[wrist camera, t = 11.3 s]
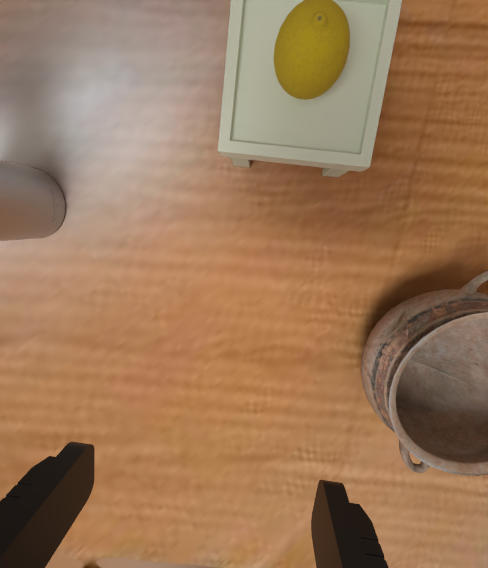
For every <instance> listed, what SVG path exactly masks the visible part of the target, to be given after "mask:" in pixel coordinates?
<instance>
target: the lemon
mask: <svg viewBox="0 0 488 568" xmlns="http://www.w3.org/2000/svg"><path fill="white" fill-rule="evenodd" d="M349 48H350V29H349V24H348V20H347V17H346V15H345V13H344V11H343V10H342V9H341V7H340V6H339V5H338V4H337V3H336V2H334V1H333V0H304V1H302V2H301V3H299V4H298V5H296V6H295V7H294V8H293V10H292V11H291V12H290V13H289V14H288V15H287V17H286V19H285V20H284V22H283V24H282V25H281V27H280V30H279V33H278V36H277V39H276V42H275V47H274V67H275V73H276V76H277V79H278V82H279V84H280V85H281V86H282V88H283V89H284V91H286V92H287V93H288V94H289V95H290V96H293V97H295V98H297V99H303V100H307V99H313V98H316V97H318V96H321V95H322V94H324V93H325V92H326V91H328V90H329V89H330V88H331V87H332V86H333V84H334V83H335V82H336V81H337V79H338V78H339V76H340V74H341V72H342V71H343V69H344V67H345V64H346V61H347V57H348V53H349Z"/></svg>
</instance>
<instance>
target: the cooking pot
mask: <svg viewBox="0 0 488 568" xmlns="http://www.w3.org/2000/svg"><path fill="white" fill-rule="evenodd" d="M487 280H488V270H487V271H485V272H483V273H481V274H479V275H477V276H476V277H474V278H473V279H471V280H470V281H469V282H468V283H466V284H465V285H464V286H463V287H462V288H460V289H443V290H437V291H431V292H426V293H423V294H420V295H417V296H414V297H411V298H409V299H407V300H405V301H403V302H402V303H400V304H398V305H397V306H395V307H394V308H392V309H391V310H390V311H388V312H387V313H386V314H385V315H384V316H383V317H382V318H381V319H380V320H379V321H378V322H377V324H376V325H375V327H374V328H373V329H372V331H371V333H370V335H369V337H368V339H367V341H366V343H365V347H364V350H363V354H362V361H361V376H362V384H363V388H364V391H365V394H366V397H367V399H368V401H369V402H370V404H371V406H372V408H373V409H374V411H375V413H376V414H377V415H378V416H379V418H380V419H381V420H382V421H383V422H384V423H385V425H386V426H388V427H389V428H390V429H391V430H392V431H394V432H395V433H396V434H397V436H398V438H399V448H400V453H401V456H402V459H403V461H404V463H405V464H406V466H407V467H408V468H409V469H410V470H412V471H414V472H417V473H423V472H425V471H426V470H427V469H428V468H429V467H430V466H431V467H433V468H436V469H439V470H442V471H445V472H448V473H454V474H459V475H473V476H480V475H488V295H487V294H484V293H481V292H476V291H477V289H478V287H479V286H480V285H481V284H483V283H484V282H486V281H487ZM409 452H410V453H412V454H413V455H414V456H415V457H417V458H418V459H419V460H420V461H421V463H420V464H415V463H413V462H412V461H411V459H410V456H409Z"/></svg>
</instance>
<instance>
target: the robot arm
mask: <svg viewBox="0 0 488 568" xmlns="http://www.w3.org/2000/svg"><path fill="white" fill-rule="evenodd" d="M64 215H65V201H64V197H63V194H62V191H61V190H60V188H59V186H58V184H57V183H56V182H55V181H54V179H53V178H51V177H50V176H49V175H48V174H47V173H45V172H43V171H41V170H39V169H36V168H32V167H28V166H24V165H20V164H16V163H11V162H8V161H4V160H0V241H5V240H21V239H34V238H44V237H47V236H50V235H51V234H53V233H54V232H55V231H56V230H57V229H58V228H59V227H60V225H61V224H62V222H63V219H64ZM93 484H94V446H93V445H91V444H84V443H78V442H70V443H68V444H67V445H66V446H65V447H64V449H63V450H62V451H61V452H60V453H59V454H58V455H57V456H56V457H52V456H49V457H47V458H46V459H44V460H43V461H41V462H40V463H38V464H37V465H35V466H34V467H32V468H31V469H30V470H29V471H28V472H27V474H26V475H25V476H24V477H23V478H22V479H21V480H20V481H19V482H18V484H17V486H16V485H15V486H14V487H13V488H12V489H11V491H10V492H9V493H8V494H7V495H6V497H5V498H3V499H2V500H1V501H0V568H45V567H46V565H47V563H48V562H49V560H50V559H51V557H52V555H53V554H54V552H55V551H56V549H57V548H58V546H59V545H60V543H61V541H62V540H63V538H64V537H65V535H66V533H67V532H68V530H69V529H70V527H71V526H72V524H73V522H74V521H75V519H76V518H77V516H78V514H79V513H80V511H81V510H82V508H83V507H84V505H85V503H86V502H87V500H88V498H89V496H90V494H91V491H92V488H93ZM311 531H312V540H313V547H314V553H315V560H316V566H317V568H388V565H387V563H386V561H385V560H384V554H383V552H382V549H381V546H380V544H379V543H378V538H377V535H376V532H375V529H374V527H373V524H372V521H371V520H370V518H369V517H368V516H367V514H366V513H365V511H364V510H363V509H362V507H361V506H360V505H359V504H354V503H349V500H348V497H347V494H346V490H345V487H344V485H343V484H342V483H338V482H332V481H325V480H320V481H319V483H318V488H317V492H316V497H315V502H314V507H313V512H312V520H311Z"/></svg>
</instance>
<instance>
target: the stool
mask: <svg viewBox="0 0 488 568" xmlns="http://www.w3.org/2000/svg"><path fill="white" fill-rule="evenodd" d="M302 1H304V0H231V7H230V18H229V30H228V41H227V53H226V64H225V75H224V87H223V98H222V109H221V121H220V132H219V144H218V152H219V154H220V155H221V157H230V159H231V161H232V163H233V165H234V166H238V167H247V168H250V162H251V160H257V161H267V162H276V163H285V164H294V165H303V166H313V167H322V168H323V172H322V176H329V177H340V176H341V175H343V174H345V173H346V172H348V171H359V172H362V171H364V170H366V169H368V168H370V164H371V158H372V153H373V148H374V143H375V138H376V133H377V128H378V122H379V117H380V112H381V107H382V102H383V97H384V92H385V86H386V81H387V76H388V71H389V66H390V61H391V56H392V50H393V45H394V40H395V35H396V30H397V25H398V20H399V14H400V9H401V4H402V0H333V1H334V2H336V3H337V4H338V5H339V6H340V7H341V9H342V10H343V11H344V13H345V15H346V17H347V20H348V24H349V29H350V48H349V53H348V57H347V61H346V64H345V67H344V69H343V71H342V72H341V74H340V76H339V78H338V79H337V81H336V82H335V83H334V84H333V86H332V87H331V88H330V89H329V90H328V91H326V92H325V93H324V94H322V95H321V96H318V97H316V98H313V99H307V100H303V99H297V98H295V97H293V96H290V95H289V94H288V93H287V92H286V91H284V89H283V88H282V86H281V85H280V84H279V82H278V79H277V76H276V73H275V67H274V47H275V42H276V39H277V36H278V33H279V30H280V27H281V25H282V24H283V22H284V20H285V19H286V17H287V15H288V14H289V13H290V12H291V11H292V10H293V8H294V7H295V6H296V5H298V4H299V3H301V2H302Z"/></svg>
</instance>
